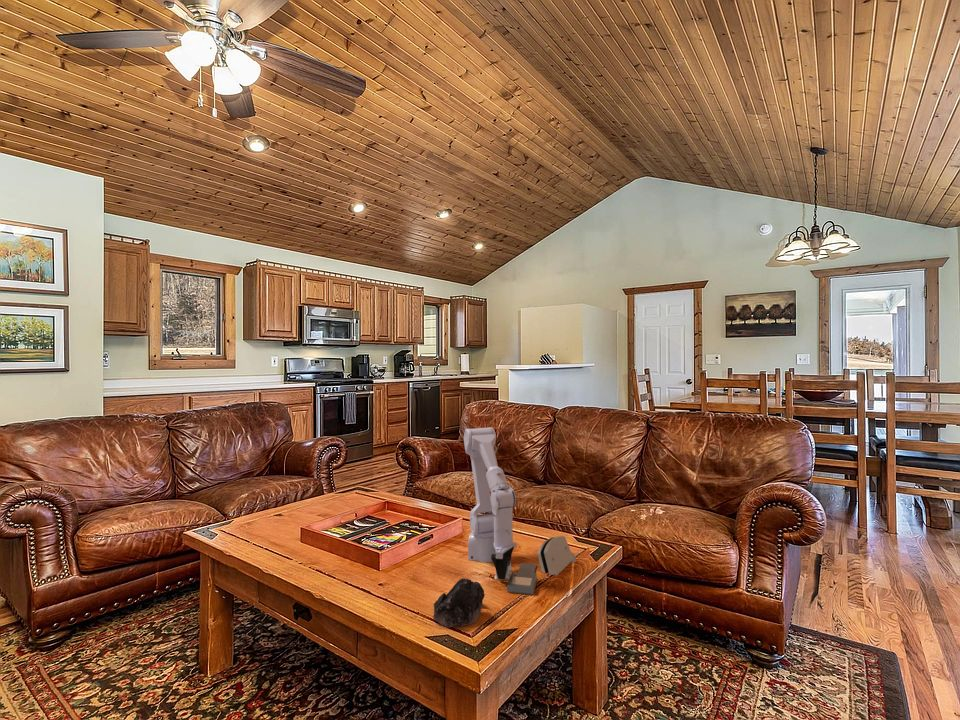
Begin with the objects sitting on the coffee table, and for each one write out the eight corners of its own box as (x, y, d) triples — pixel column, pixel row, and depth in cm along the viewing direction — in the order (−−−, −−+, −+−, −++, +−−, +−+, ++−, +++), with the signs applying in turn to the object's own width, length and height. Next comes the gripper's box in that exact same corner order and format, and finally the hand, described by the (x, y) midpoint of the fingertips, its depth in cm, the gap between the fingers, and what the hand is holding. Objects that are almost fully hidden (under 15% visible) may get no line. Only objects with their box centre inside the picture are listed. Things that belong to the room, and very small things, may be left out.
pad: (494, 581, 148) (494, 578, 148) (497, 574, 153) (497, 571, 153) (510, 583, 147) (510, 580, 147) (513, 576, 152) (513, 572, 152)
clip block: (496, 578, 149) (495, 560, 149) (498, 572, 153) (498, 555, 153) (509, 579, 148) (508, 562, 148) (511, 573, 152) (511, 556, 152)
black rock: (422, 625, 126) (422, 589, 125) (446, 596, 139) (446, 563, 138) (469, 640, 121) (470, 603, 120) (490, 609, 134) (491, 575, 132)
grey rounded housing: (557, 579, 150) (546, 546, 151) (544, 581, 152) (533, 548, 154) (577, 559, 164) (567, 529, 165) (564, 561, 166) (555, 532, 168)
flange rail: (507, 595, 140) (507, 585, 140) (517, 567, 158) (516, 558, 158) (533, 598, 138) (533, 587, 138) (540, 569, 157) (540, 559, 157)
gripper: (512, 538, 142) (512, 584, 142) (519, 521, 156) (520, 564, 156) (488, 536, 144) (489, 582, 144) (497, 520, 158) (498, 562, 158)
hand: (503, 572), depth 150 cm, fingers open, 7 cm apart
